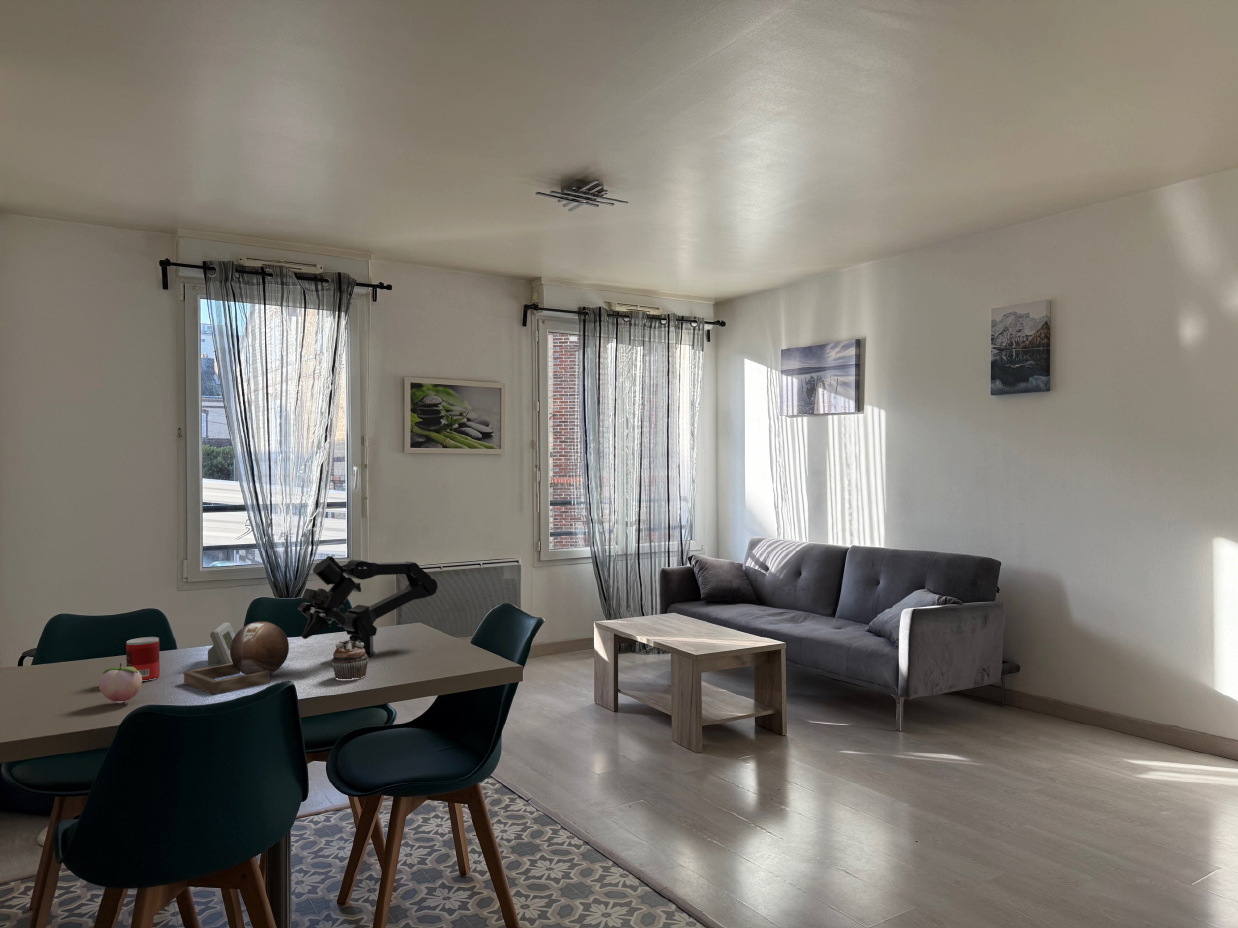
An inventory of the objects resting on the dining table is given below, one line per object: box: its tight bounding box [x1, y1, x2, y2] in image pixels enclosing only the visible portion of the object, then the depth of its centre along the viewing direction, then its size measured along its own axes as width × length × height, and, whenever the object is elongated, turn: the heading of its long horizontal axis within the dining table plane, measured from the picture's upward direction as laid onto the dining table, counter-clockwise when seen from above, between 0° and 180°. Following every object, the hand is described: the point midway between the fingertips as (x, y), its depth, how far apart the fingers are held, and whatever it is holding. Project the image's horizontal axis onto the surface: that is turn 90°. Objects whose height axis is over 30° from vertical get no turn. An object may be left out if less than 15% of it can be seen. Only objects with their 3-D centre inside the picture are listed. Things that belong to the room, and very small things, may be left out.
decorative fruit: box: [98, 662, 143, 702], centre depth 212 cm, size 9×8×10 cm
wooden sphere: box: [230, 620, 290, 676], centre depth 237 cm, size 15×15×15 cm
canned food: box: [125, 636, 161, 680], centre depth 237 cm, size 8×8×11 cm
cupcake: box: [331, 639, 370, 679], centre depth 234 cm, size 10×10×10 cm
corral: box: [183, 662, 271, 695], centre depth 231 cm, size 14×19×3 cm
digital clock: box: [207, 621, 236, 666], centre depth 258 cm, size 16×9×11 cm, turn 1°
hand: (303, 637), depth 247 cm, fingers closed
